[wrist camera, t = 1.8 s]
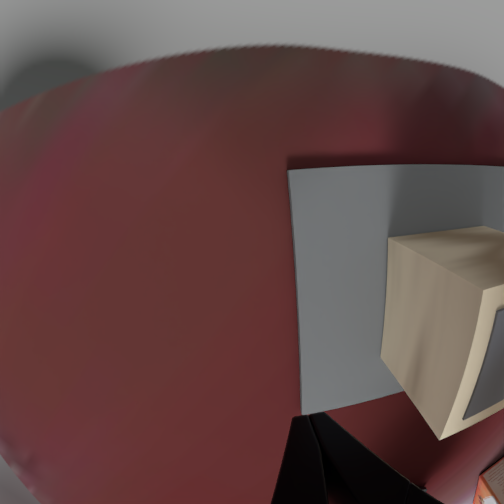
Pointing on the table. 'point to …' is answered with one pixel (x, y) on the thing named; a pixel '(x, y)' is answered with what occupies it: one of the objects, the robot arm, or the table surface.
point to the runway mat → (367, 261)
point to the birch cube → (447, 324)
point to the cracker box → (491, 485)
